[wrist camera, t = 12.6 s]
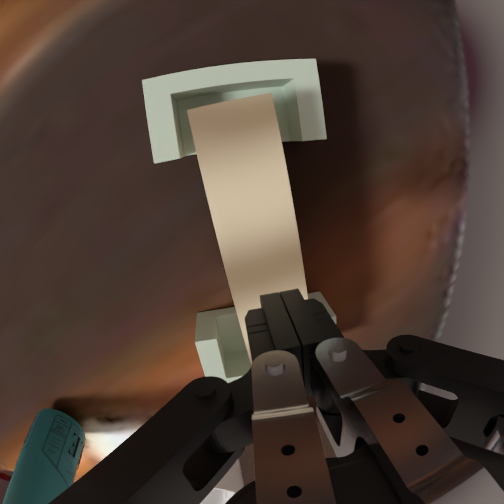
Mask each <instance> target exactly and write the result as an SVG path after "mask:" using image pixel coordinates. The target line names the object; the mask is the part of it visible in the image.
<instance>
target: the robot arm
mask: <svg viewBox="0 0 504 504" xmlns="http://www.w3.org/2000/svg"><path fill="white" fill-rule="evenodd" d="M260 303H261V308H258V309H252V310H248V312H247V314H246V316H245V318H244V319H245V324H246V330H247V336H248V342H249V347H250V353H251V358H252V365H251V368H250V369H249V371H248V372H247V373H246V374H245V375H244V376H242V377H241V378H239V379H237V380H234V381H232V382H229V383H227V382H226V381H225V380H224V379H222V378H219V377H214V376H207V377H201V378H198V379H195V380H193V381H192V382H190V383H189V384H188V385H186V386H185V387H184V388H183V389H182V390H181V391H180V392H179V393H178V394H177V395H176V396H175V397H174V398H172V399H171V400H170V401H169V402H168V403H167V404H166V405H165V406H164V407H163V408H161V409H160V410H159V411H158V412H157V413H156V414H155V415H154V416H153V417H151V418H150V419H149V420H148V421H147V422H146V423H145V424H144V425H142V426H141V427H140V428H139V429H138V430H137V431H136V432H134V433H133V434H132V435H131V436H130V437H129V438H128V439H126V440H125V441H124V442H123V443H122V444H121V445H119V446H118V447H117V448H116V449H115V450H114V451H112V452H111V453H110V454H109V455H108V456H107V457H105V458H104V459H103V460H102V461H101V462H99V463H98V464H97V465H96V466H95V467H93V468H92V469H91V470H90V471H89V472H87V473H86V474H85V475H84V476H82V477H81V478H80V479H79V480H77V481H76V482H75V483H74V484H72V485H71V486H70V487H69V488H67V489H66V490H65V491H64V492H62V493H61V494H60V495H59V496H57V497H56V498H55V499H53V500H52V501H51V502H50V503H48V504H200V503H201V502H202V501H203V500H204V499H205V498H206V496H207V495H208V494H209V493H210V492H211V491H212V490H213V488H214V487H215V486H216V485H217V484H218V483H219V481H220V480H221V479H222V478H223V477H224V476H225V474H226V473H227V472H228V471H229V470H230V468H231V467H232V466H233V465H234V463H235V462H236V461H237V460H238V458H239V457H240V456H241V455H242V453H243V452H244V449H245V446H248V445H250V444H252V443H253V450H254V468H255V481H253V482H251V483H249V484H247V485H246V486H244V487H243V488H241V489H240V490H239V491H237V492H236V493H235V494H234V495H233V496H232V497H231V498H230V499H229V500H228V501H227V502H226V503H225V504H504V360H501V359H497V358H493V357H489V356H485V355H482V354H478V353H474V352H471V351H467V350H463V349H459V348H456V347H453V346H449V345H445V344H442V343H438V342H435V341H431V340H428V339H424V338H421V337H417V336H414V335H400V336H397V337H394V338H393V339H391V340H390V341H389V342H388V344H387V348H386V350H362V349H361V348H360V346H359V345H358V344H357V343H356V342H354V341H352V340H350V339H347V338H344V337H343V335H342V333H341V332H340V330H339V329H338V327H337V325H336V324H335V322H334V321H333V319H332V318H331V316H330V314H329V313H328V312H327V309H326V308H325V306H324V305H323V303H321V302H319V301H318V300H316V299H314V298H311V299H306V300H304V298H303V296H302V294H301V292H300V291H299V289H298V288H297V289H292V290H287V291H281V292H276V293H270V294H264V295H260ZM421 383H424V384H427V385H431V386H434V387H437V388H440V389H443V390H446V391H449V392H452V393H454V394H455V395H456V396H457V397H458V399H456V400H449V399H446V398H443V397H440V396H437V395H433V394H430V393H427V392H424V391H421V390H419V389H420V385H421ZM311 396H314V398H315V401H316V413H317V416H318V418H319V420H320V422H321V424H322V426H323V428H324V430H325V432H326V434H327V436H328V438H329V440H330V443H331V445H332V447H333V449H334V451H335V453H336V456H337V457H335V458H325V454H324V450H323V446H322V442H321V438H320V434H319V430H318V426H317V422H316V418H315V414H314V410H313V407H312V406H309V403H308V399H307V397H311Z"/></svg>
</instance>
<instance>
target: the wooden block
mask: <svg viewBox="0 0 504 504" xmlns="http://www.w3.org/2000/svg"><path fill="white" fill-rule="evenodd" d="M187 113H188V118H189V122H190V127H191V131H192V135H193V140H194V144H195V149H196V153H197V157H198V162H199V166H200V170H201V174H202V179H203V183H204V187H205V191H206V195H207V199H208V204H209V208H210V212H211V216H212V220H213V224H214V228H215V232H216V236H217V240H218V244H219V248H220V252H221V255H222V259H223V263H224V267H225V271H226V275H227V279H228V282H229V286H230V290H231V294H232V297H233V301H234V305H235V309H236V312H237V316H238V320H239V323H240V327H241V331H242V334H243V338H244V341H245V345H246V349H247V352H248V356H249V359H250V363H251V365H252V358H251V353H250V347H249V342H248V336H247V330H246V324H245V319H244V318H245V316H246V314H247V312H248V310H252V309H258V308H261V303H260V295H264V294H270V293H276V292H281V291H287V290H292V289H297V288H298V289H299V291H300V292H301V294H302V296H303V298H304V300H306V299H308V295H307V287H306V281H305V274H304V267H303V260H302V254H301V248H300V241H299V235H298V229H297V223H296V217H295V211H294V205H293V200H292V194H291V188H290V183H289V177H288V172H287V167H286V161H285V156H284V151H283V146H282V141H281V136H280V131H279V126H278V121H277V116H276V112H275V107H274V102H273V97H272V93H268V94H262V95H256V96H250V97H245V98H239V99H234V100H229V101H224V102H220V103H215V104H211V105H206V106H202V107H198V108H194V109H190V110H187Z"/></svg>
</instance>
